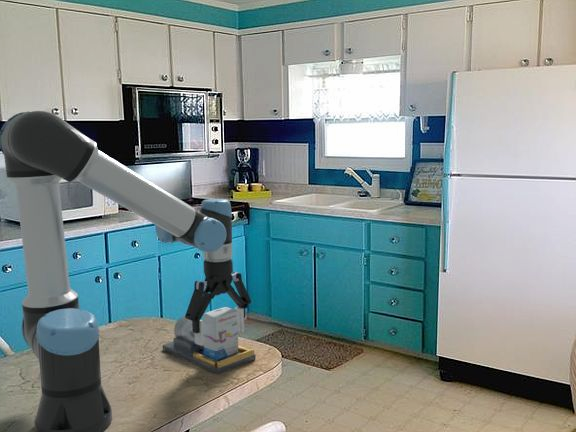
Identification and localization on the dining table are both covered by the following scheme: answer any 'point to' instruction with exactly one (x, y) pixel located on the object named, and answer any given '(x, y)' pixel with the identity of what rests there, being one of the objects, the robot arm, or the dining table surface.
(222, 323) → the ink box
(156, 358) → the dining table surface
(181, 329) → the motor unit
